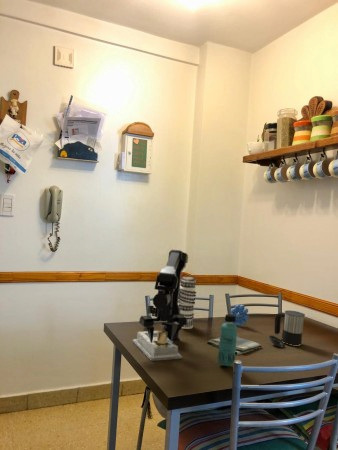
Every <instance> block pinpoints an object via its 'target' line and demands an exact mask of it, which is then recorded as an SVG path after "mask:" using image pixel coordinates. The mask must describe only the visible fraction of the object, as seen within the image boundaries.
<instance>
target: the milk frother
mask: <svg viewBox="0 0 338 450" xmlns="http://www.w3.org/2000/svg"><path fill="white" fill-rule="evenodd" d="M305 316H306V315H305V313H304V312H300V311H296V310H285V311H284V312H283V311H282V312H279V313H277V314H276V315H275V317H274V334H275V335H278V334H280V333H281V319H282V318H283V326H282V333H281V334H282V335H281V339H280V338H278V337H277V336H274V335H269V336H268V338H269V340H270V342H271V343H272V344H274V345H275V346H276V345H277V346H276V347H280V346H283V347H284V346H285V344H284V343H283V342H285V343H288V344H292V345H299V344H302V338H303V331H304V330H303V329H304V328H303V327H304V321H305ZM282 341H283V342H282Z"/></svg>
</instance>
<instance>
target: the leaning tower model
mask: <svg viewBox="0 0 338 450" xmlns="http://www.w3.org/2000/svg"><path fill="white" fill-rule="evenodd" d="M196 282H197V281H196V279H195V277H192V276H191V277H190V276H183V277H181V282H180V291H179V299H178V305H179V307H180V310H181V312H180V314H181V315H183V316H184V317H186V318H187V325H184V327H182V328H181V329H183V330H190V329H193V327H194V326H193V325H194V316H195V313H194V312H195V311H194V306H195V304H196V302H195V301H196V298H195V297H197V295H196V294H197V292H196V289H197V288H196Z"/></svg>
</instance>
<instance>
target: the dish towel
mask: <svg viewBox="0 0 338 450" xmlns="http://www.w3.org/2000/svg"><path fill="white" fill-rule="evenodd" d="M219 343H220V337H217V338H214V339H210V340H207V341H206V344H208V345H211V346H213V347H215V348H218V349H219V345H220V344H219ZM259 347H261V348H262V344H260V343H258V342H255V341H253V340H250V339H246V338H242V337H239V336H237V339H236V350H235V352H236V354H235V355H236V356H241V355H243V353H244V354H246V353H249V352H252V351H255V350H254V349H256V350H258V349H257V348H259ZM259 349H260V348H259Z"/></svg>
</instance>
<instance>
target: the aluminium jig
mask: <svg viewBox="0 0 338 450" xmlns="http://www.w3.org/2000/svg"><path fill="white" fill-rule="evenodd" d="M158 331H159V330H154V333H153V341H152V343H151V342H150V339H149V335H148V331H147V330H145V331H137V335H136V338H133V339H132V342H133V344H134V345H135V346H136V347H137V348H138V349H139V350H140V351H141V352H142V353H143V354H144V356H146V357H147V359H149V360H150V361H151V362H156V361H167V360H178V359H179V360H180V359H182V358H183V355H182V354H180V353H179V346H178V345H177V344H176V343H174V341H171V340H170V339H168V338H167V345H163V346H158V345H157V334H158Z"/></svg>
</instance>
